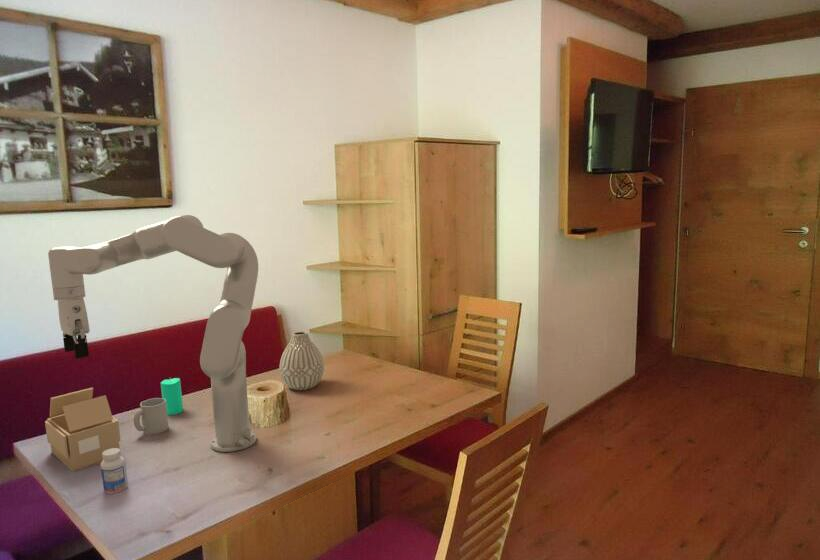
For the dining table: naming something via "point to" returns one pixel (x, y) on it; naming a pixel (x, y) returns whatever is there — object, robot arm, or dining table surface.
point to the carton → (81, 441)
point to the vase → (301, 363)
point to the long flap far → (68, 400)
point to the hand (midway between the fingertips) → (76, 353)
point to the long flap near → (87, 413)
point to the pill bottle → (113, 471)
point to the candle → (172, 395)
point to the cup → (152, 416)
